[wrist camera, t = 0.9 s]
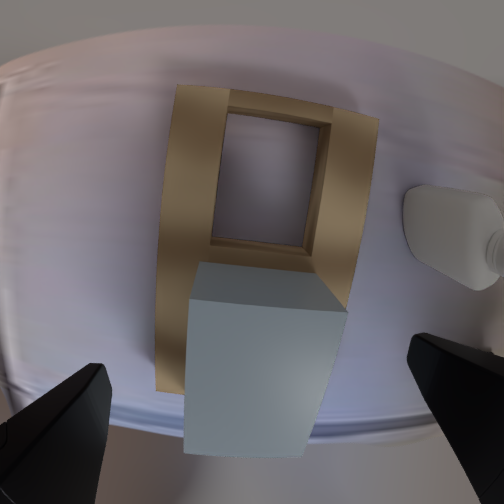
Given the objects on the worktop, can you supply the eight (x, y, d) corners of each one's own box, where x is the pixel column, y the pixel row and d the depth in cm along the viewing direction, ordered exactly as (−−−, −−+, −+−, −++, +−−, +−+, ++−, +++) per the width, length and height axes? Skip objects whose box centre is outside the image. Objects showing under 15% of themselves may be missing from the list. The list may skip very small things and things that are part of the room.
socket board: (311, 382, 24) (319, 401, 22) (161, 371, 23) (155, 390, 21) (363, 123, 20) (378, 119, 17) (183, 94, 18) (177, 84, 16)
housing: (286, 401, 22) (301, 456, 16) (190, 395, 21) (183, 453, 16) (316, 273, 19) (348, 312, 14) (199, 261, 19) (189, 298, 13)
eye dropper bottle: (449, 194, 21) (571, 222, 10) (430, 262, 23) (540, 325, 11) (406, 177, 21) (537, 197, 9) (387, 252, 22) (501, 321, 10)
